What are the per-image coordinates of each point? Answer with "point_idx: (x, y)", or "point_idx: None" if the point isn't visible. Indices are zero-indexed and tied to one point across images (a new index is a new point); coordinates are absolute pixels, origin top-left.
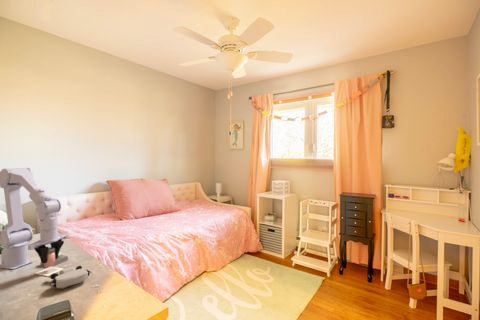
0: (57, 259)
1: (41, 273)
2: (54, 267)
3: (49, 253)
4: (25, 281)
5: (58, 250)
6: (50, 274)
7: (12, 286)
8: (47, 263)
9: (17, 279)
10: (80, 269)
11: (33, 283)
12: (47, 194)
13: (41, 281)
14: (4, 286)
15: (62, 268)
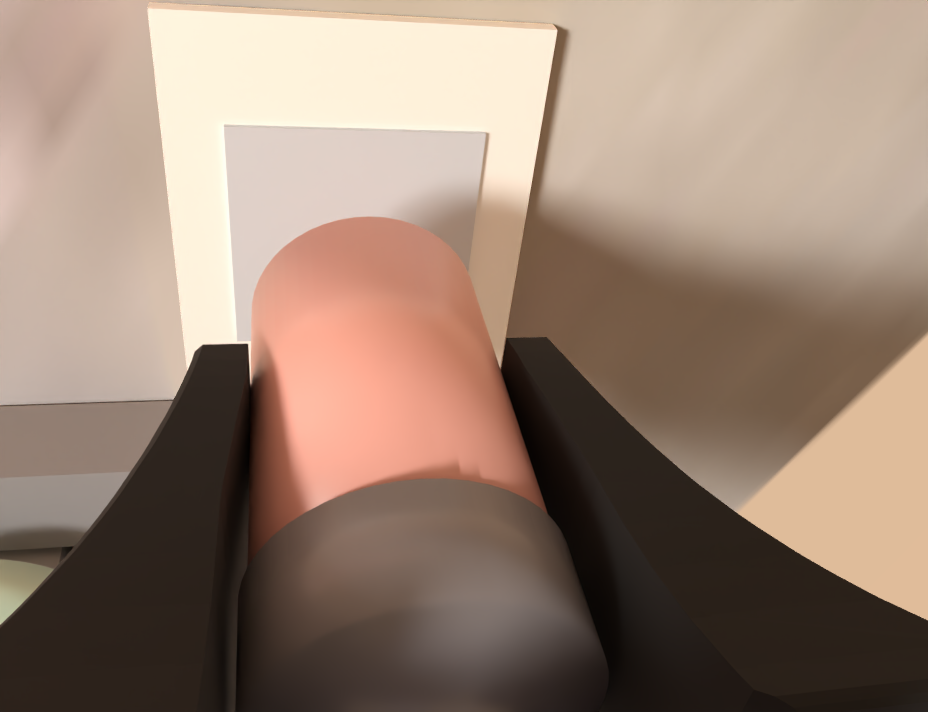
0: (13, 503)
1: (482, 282)
2: (198, 306)
3: (523, 497)
4: (745, 261)
5: (168, 509)
6: (486, 49)
7: (895, 279)
8: (480, 318)
9: (678, 434)
10: None
11: (834, 30)
12: None
13: None
14: (876, 381)
15: (160, 70)
